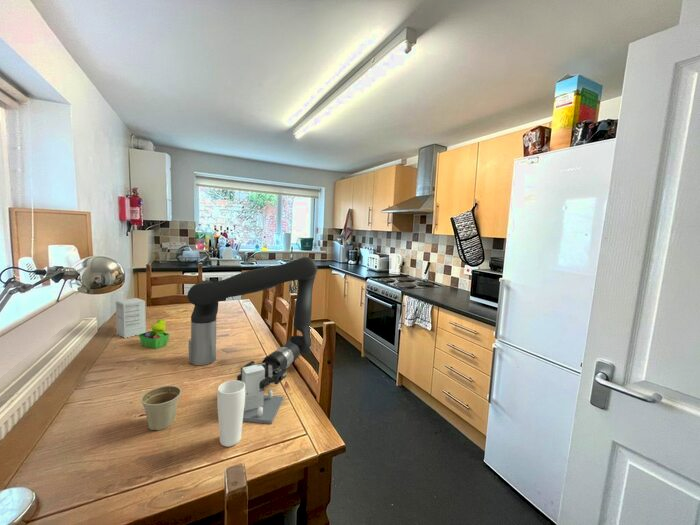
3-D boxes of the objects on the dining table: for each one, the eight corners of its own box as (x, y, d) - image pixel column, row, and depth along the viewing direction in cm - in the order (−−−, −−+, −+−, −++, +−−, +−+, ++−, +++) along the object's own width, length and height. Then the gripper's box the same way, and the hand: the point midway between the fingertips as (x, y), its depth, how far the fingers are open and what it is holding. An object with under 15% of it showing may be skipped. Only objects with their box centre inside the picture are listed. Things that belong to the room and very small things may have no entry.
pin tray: (217, 418, 83) (218, 407, 83) (236, 395, 95) (236, 385, 95) (271, 423, 82) (272, 412, 82) (283, 399, 94) (283, 389, 94)
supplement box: (146, 333, 143) (146, 300, 141) (124, 338, 135) (123, 304, 133) (138, 329, 148) (137, 297, 146) (116, 333, 140) (115, 300, 138)
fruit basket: (137, 345, 128) (136, 321, 127) (156, 339, 137) (156, 316, 135) (154, 350, 124) (153, 325, 123) (173, 344, 132) (173, 320, 131)
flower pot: (189, 417, 83) (189, 389, 82) (158, 439, 74) (157, 408, 73) (165, 409, 86) (165, 382, 85) (132, 429, 77) (132, 399, 76)
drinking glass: (222, 431, 78) (222, 379, 77) (247, 431, 79) (248, 380, 77) (212, 450, 72) (213, 393, 70) (240, 449, 72) (241, 394, 71)
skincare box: (244, 412, 85) (245, 373, 84) (240, 404, 89) (241, 367, 88) (264, 406, 89) (265, 369, 88) (259, 398, 92) (260, 363, 91)
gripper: (261, 347, 103) (229, 366, 88) (296, 354, 99) (269, 376, 83) (261, 367, 104) (229, 389, 88) (296, 375, 100) (269, 400, 84)
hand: (249, 383), depth 86 cm, fingers open, 7 cm apart
